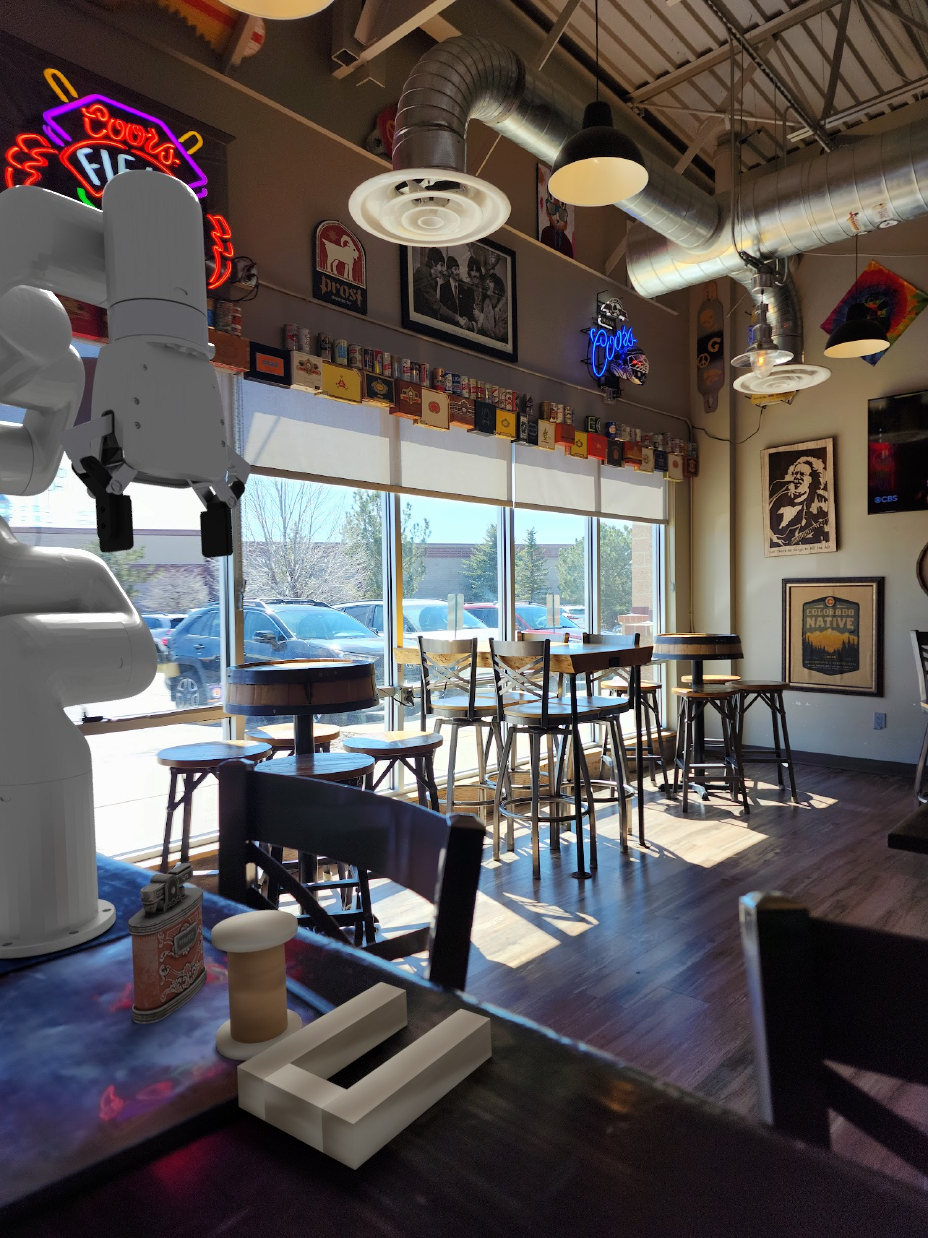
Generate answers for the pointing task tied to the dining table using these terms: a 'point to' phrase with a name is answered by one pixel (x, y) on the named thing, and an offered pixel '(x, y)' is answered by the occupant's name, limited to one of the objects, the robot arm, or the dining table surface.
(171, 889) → the lighter
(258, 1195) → the dining table surface
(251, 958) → the bobbin
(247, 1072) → the notched board
